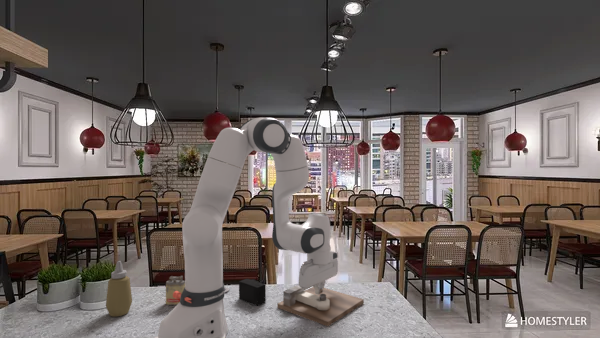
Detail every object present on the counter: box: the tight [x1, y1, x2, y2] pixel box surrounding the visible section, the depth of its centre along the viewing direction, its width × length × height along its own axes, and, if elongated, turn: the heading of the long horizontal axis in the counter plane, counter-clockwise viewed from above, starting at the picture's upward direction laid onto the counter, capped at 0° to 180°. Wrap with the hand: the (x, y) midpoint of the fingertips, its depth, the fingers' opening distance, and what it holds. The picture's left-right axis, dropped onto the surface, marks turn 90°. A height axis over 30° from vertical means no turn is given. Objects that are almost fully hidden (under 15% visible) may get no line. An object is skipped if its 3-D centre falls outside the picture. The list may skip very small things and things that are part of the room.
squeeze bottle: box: [105, 260, 133, 318], centre depth 114 cm, size 8×8×18 cm
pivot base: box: [276, 284, 365, 327], centre depth 121 cm, size 23×22×6 cm
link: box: [295, 290, 330, 311], centre depth 119 cm, size 18×5×2 cm, turn 46°
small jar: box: [165, 275, 185, 306], centre depth 123 cm, size 7×4×10 cm, turn 89°
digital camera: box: [238, 278, 267, 307], centre depth 125 cm, size 10×5×7 cm, turn 50°
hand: (319, 293), depth 124 cm, fingers closed
